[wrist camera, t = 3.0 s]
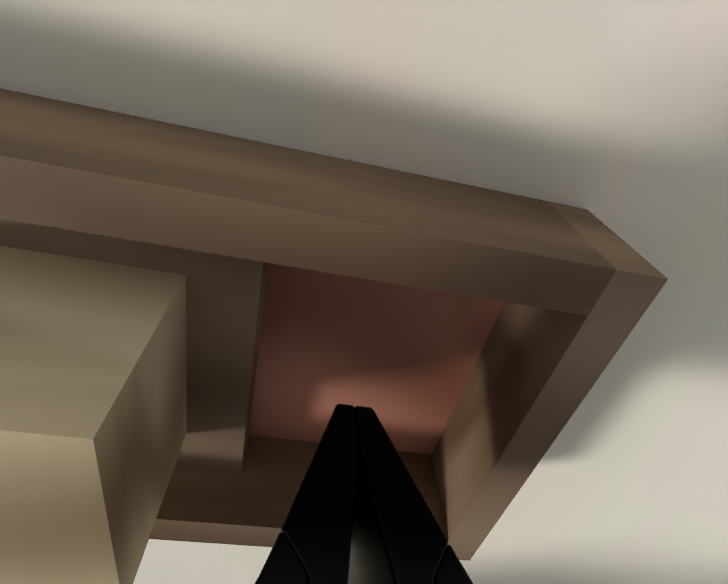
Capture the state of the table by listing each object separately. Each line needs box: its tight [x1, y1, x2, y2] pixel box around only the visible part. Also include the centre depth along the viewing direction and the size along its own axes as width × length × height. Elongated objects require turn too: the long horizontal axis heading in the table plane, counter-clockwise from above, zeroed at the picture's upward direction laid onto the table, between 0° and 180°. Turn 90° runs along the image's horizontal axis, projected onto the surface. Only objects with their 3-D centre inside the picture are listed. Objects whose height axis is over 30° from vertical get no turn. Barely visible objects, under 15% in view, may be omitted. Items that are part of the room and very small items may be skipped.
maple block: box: [0, 246, 187, 584], centre depth 8 cm, size 5×5×4 cm
